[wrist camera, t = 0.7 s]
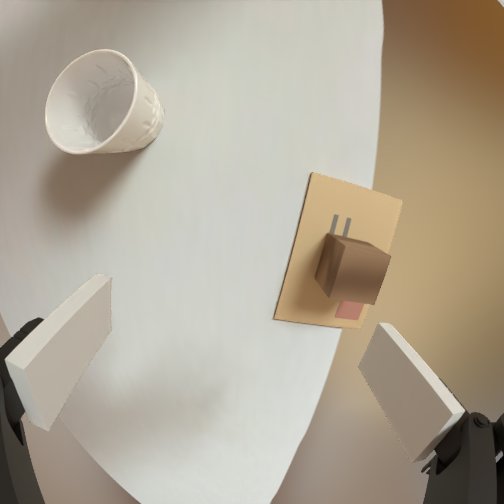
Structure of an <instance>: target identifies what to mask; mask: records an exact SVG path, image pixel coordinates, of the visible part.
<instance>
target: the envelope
mask: <svg viewBox="0 0 504 504" xmlns="http://www.w3.org/2000/svg"><path fill="white" fill-rule="evenodd" d="M402 203H403V200H400V199H397V198H394V197H391V196H388V195H386V194H382V193H380V192H377V191H374V190H371V189H368V188H364V187H361V186H358V185H355V184H352V183H348V182H345V181H342V180H338V179H335V178H332V177H328V176H324V175H321V174H317V173H314V172H312V173H311V178H310V182H309V186H308V190H307V195H306V199H305V203H304V207H303V211H302V215H301V219H300V223H299V227H298V231H297V235H296V239H295V243H294V247H293V250H292V254H291V258H290V262H289V266H288V269H287V273H286V277H285V280H284V284H283V288H282V291H281V295H280V298H279V302H278V305H277V309H276V313H275V316H274V319H279V320H286V321H293V322H300V323H308V324H316V325H324V326H333V327H342V328H353V329H361V327H362V324H363V322H364V320H365V317H366V315H367V312H368V310H369V307H370V304H363V303H356V302H349V301H342V300H335V299H329V298H328V296H327V295H326V294H325V292H324V291H323V289H322V288H321V287H320V285H319V284H318V282H317V281H316V280H315V274H316V271H317V268H318V264H319V261H320V257H321V254H322V250H323V247H324V243H325V240H326V236H327V233H331V234H335V235H340V236H344V237H348V238H352V239H357V240H361V241H365V242H369V243H370V244H372V245H374V246H375V247H377V248H379V249H380V250H382V251H383V252H385V253H387V254H388V253H389V250H390V246H391V243H392V240H393V236H394V233H395V229H396V226H397V222H398V219H399V214H400V211H401V207H402Z"/></svg>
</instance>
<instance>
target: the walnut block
mask: <svg viewBox="0 0 504 504" xmlns="http://www.w3.org/2000/svg"><path fill="white" fill-rule="evenodd" d="M390 259H391V256H390V255H388V254H387V253H385V252H383V251H382V250H380V249H379V248H377V247H375V246H374V245H372V244H370V243H369V242H365V241H361V240H357V239H352V238H348V237H344V236H340V235H335V234H331V233H327V236H326V240H325V243H324V247H323V250H322V254H321V257H320V261H319V264H318V268H317V271H316V274H315V280H316V281H317V282H318V284H319V285H320V287H321V288H322V289H323V291H324V292H325V294H326V295H327V296H328V298H329V299H335V300H342V301H349V302H356V303H363V304H371V305H374V304H375V301H376V299H377V296H378V293H379V290H380V288H381V285H382V282H383V280H384V277H385V273H386V271H387V268H388V265H389V262H390Z"/></svg>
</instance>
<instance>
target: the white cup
mask: <svg viewBox="0 0 504 504" xmlns="http://www.w3.org/2000/svg"><path fill="white" fill-rule="evenodd" d="M44 118H45V126H46V130H47V133H48V136H49V138H50V139H51V141H52V142H53V144H54V145H55V146H56V147H58V148H59V149H60V150H62V151H64V152H66V153H69V154H104V153H120V152H131V151H135V150H138V149H141V148H144V147H146V146H147V145H148V144H149V143H150V142H152V141H153V140H154V139H155V138H156V137H157V135H158V133H159V131H160V129H161V128H162V126H163V121H164V108H163V105H162V103H161V100H160V98H159V96H158V95H157V94H156V93H155V91H154V89H153V88H152V87H151V85H150V84H149V83H148V81H147V80H146V79H145V78H144V77H143V75H142V74H141V73H140V72H139V71H138V70H137V69H136V67H135V66H134V65H133V64H132V63H131V61H130V60H129V59H128V58H127V57H126V56H124V55H123V54H121V53H120V52H117V51H114V50H109V49H100V50H94V51H91V52H88V53H86V54H83V55H81V56H80V57H78V58H76V59H75V60H74V61H72V62H71V63H70V64H69V65H68V66H67V67H65V69H64V70H63V71H62V72H61V73H60V74H59V76H58V77H57V79H56V80H55V82H54V83H53V85H52V87H51V89H50V92H49V94H48V97H47V101H46V105H45V114H44Z"/></svg>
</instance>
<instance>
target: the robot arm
mask: <svg viewBox="0 0 504 504" xmlns="http://www.w3.org/2000/svg"><path fill="white" fill-rule="evenodd" d="M111 281H112V277H109V276H105V275H101V274H95V275H94V276H93V277H92V278H91V279H89V280H88V281H87V282H86V283H85V284H84V285H82V286H81V287H80V288H79V289H78V290H77V291H75V292H74V293H73V294H72V295H71V296H70V297H69V298H68V299H66V300H65V301H64V302H63V303H62V304H61V305H60V306H59V307H58V308H56V309H55V310H54V311H53V312H52V313H51V314H50V315H49V316H48V317H47V318H46V319H42V318H39V317H38V318H36V319H34V320H32V321H29V322H27V323H26V324H25V325H24V326H23V327H22V328H21V329H20V331H18V332H17V333H15V334H14V337H11V338H10V339H9V340H8V341H7V342H6V343H5V344H4V345H3V346H2V347H1V348H0V504H45V502H44V499H43V497H42V494H41V491H40V488H39V485H38V482H37V479H36V476H35V473H34V469H33V466H32V462H31V458H30V455H29V450H28V446H27V442H26V437H25V432H24V428H23V423H22V421H21V419H20V418H21V417H22V415H23V414H24V412H25V413H26V415H27V417H28V419H29V421H30V423H32V424H34V425H36V426H38V427H40V428H42V429H43V430H46V431H48V432H49V430H50V428H51V427H52V424H53V423H54V421H55V419H56V417H57V416H58V414H59V412H60V411H61V409H62V407H63V406H64V404H65V402H66V400H67V399H68V397H69V395H70V394H71V392H72V390H73V389H74V387H75V386H76V384H77V382H78V381H79V379H80V377H81V376H82V374H83V373H84V371H85V370H86V368H87V366H88V365H89V363H90V362H91V360H92V359H93V357H94V356H95V354H96V353H97V351H98V350H99V348H100V347H101V345H102V344H103V342H104V341H105V339H106V338H107V336H108V335H109V333H110V332H111V330H112V324H111ZM358 368H359V369H360V371H361V373H362V374H363V376H364V378H365V379H366V381H367V383H368V385H369V387H370V388H371V390H372V392H373V394H374V395H375V397H376V399H377V401H378V402H379V404H380V406H381V408H382V410H383V411H384V413H385V415H386V417H387V419H388V420H389V422H390V424H391V426H392V428H393V429H394V431H395V433H396V435H397V437H398V439H399V441H400V442H401V444H402V446H403V448H404V450H405V452H406V454H407V456H408V458H409V459H410V461H411V463H413V462H416V461H420V460H423V459H425V458H426V457H427V456H428V455H429V454H430V453H431V452H432V451H433V450H435V452H436V453H437V454H436V455H435V456H434V457H433V459H431V460H430V461H429V463H428V464H426V465H425V466H424V467H423V469H422V471H421V472H422V473H423V472H424V471H425V470H426V469H427V468H428V467H431V468H430V469H429V470H428V472H426V474H429V480H428V484H427V489H426V494H425V498H424V502H423V504H504V413H503V414H502V415H501V416H500V418H499V419H498V420H497V422H494V423H493V422H490V421H489V420H488V418H487V417H485V416H484V415H483V414H481V413H477V412H474V413H471V414H469V413H468V412H467V410H466V409H465V408H464V407H463V406H462V404H461V403H460V402H459V401H458V399H457V398H456V397H455V396H454V394H452V392H451V391H450V390H449V389H447V386H446V385H445V384H444V382H443V381H442V380H441V379H439V378H438V377H437V376H436V375H435V373H434V372H433V371H432V370H431V369H430V368H429V366H428V365H427V364H426V363H425V362H424V361H423V359H422V358H421V357H420V356H419V355H418V354H417V353H416V352H415V351H414V349H413V348H412V347H411V346H410V345H409V344H408V343H407V342H406V340H405V339H404V338H403V337H402V336H401V335H400V334H399V333H398V332H397V331H396V329H395V328H394V327H393V326H392V325H391V324H388V323H378V325H377V327H376V329H375V332H374V334H373V336H372V339H371V341H370V343H369V345H368V347H367V350H366V352H365V354H364V356H363V358H362V360H361V362H360V364H359V366H358ZM501 451H502V452H503V456H502V458H500V460H499V461H498V462H497V463H496V459H495V457H496V456H497V455H498V454H499V453H500V452H501Z"/></svg>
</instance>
